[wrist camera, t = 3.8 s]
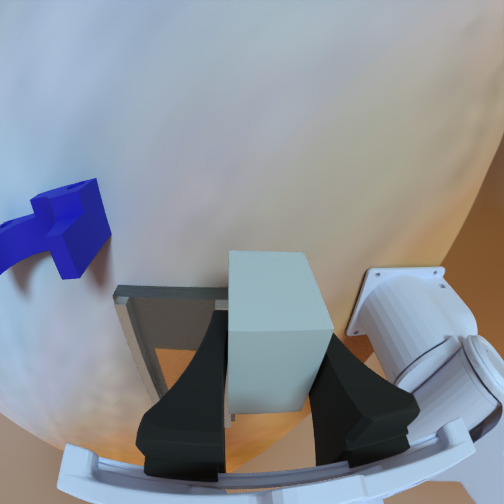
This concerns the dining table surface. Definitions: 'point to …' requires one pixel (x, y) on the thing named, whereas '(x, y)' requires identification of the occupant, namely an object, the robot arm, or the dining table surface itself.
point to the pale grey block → (273, 331)
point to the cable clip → (59, 229)
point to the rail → (167, 331)
